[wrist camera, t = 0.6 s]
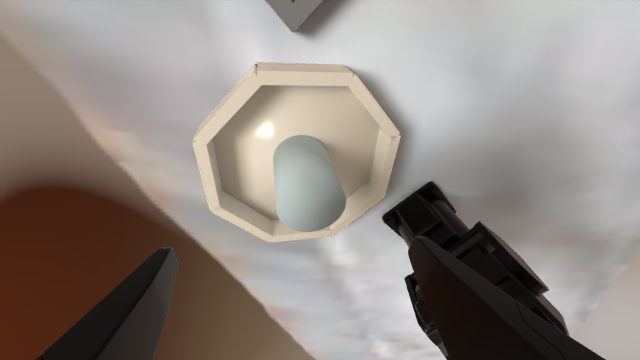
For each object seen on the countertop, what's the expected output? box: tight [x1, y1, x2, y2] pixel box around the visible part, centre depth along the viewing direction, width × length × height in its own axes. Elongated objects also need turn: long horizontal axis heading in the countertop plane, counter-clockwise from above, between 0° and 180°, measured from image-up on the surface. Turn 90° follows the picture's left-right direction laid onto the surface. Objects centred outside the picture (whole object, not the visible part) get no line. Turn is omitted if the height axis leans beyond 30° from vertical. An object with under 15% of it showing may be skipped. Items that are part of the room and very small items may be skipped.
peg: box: [273, 135, 346, 232], centre depth 18 cm, size 4×4×6 cm
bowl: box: [192, 62, 401, 242], centre depth 20 cm, size 15×15×2 cm
